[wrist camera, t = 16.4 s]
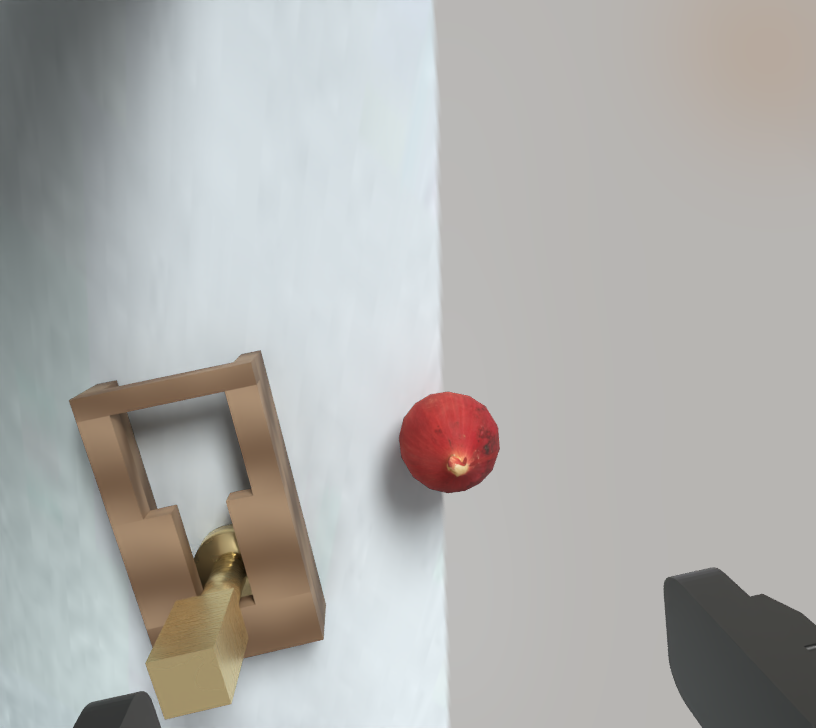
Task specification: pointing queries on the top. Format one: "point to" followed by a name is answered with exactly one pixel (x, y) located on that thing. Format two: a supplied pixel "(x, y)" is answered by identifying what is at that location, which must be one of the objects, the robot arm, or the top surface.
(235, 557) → the keyhole peg
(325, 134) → the top surface
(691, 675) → the robot arm
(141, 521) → the keyhole plate
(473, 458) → the onion
